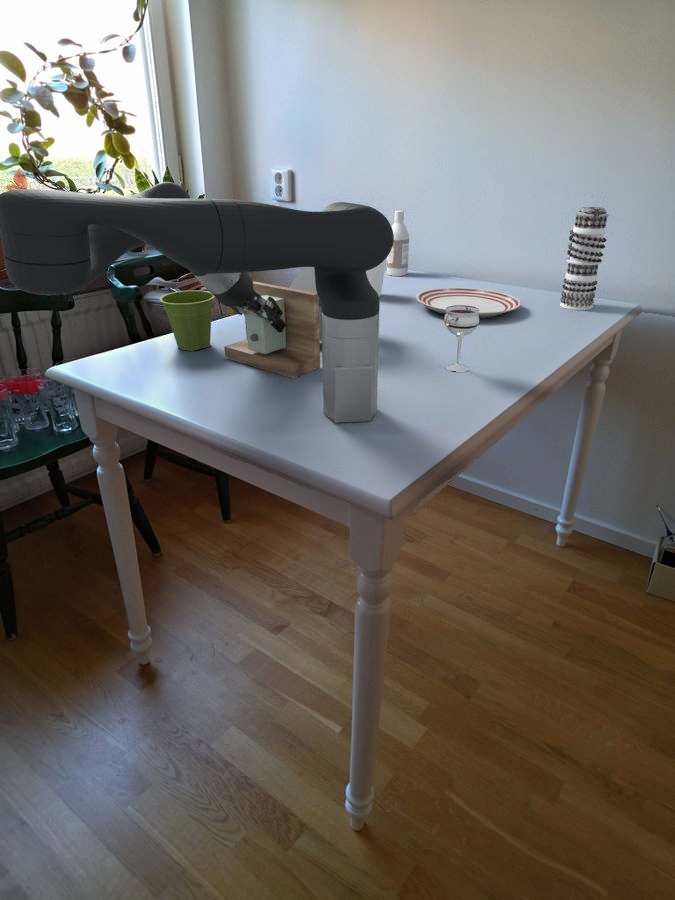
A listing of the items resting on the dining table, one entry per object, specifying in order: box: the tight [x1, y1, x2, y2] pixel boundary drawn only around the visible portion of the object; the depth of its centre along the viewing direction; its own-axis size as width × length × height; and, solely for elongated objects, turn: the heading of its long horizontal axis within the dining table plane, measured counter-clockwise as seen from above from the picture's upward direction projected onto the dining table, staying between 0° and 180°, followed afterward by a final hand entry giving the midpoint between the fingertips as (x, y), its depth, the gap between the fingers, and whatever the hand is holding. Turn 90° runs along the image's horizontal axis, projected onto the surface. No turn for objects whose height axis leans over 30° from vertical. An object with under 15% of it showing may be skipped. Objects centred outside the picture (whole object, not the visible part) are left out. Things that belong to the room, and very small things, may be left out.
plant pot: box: [159, 289, 216, 352], centre depth 135 cm, size 12×12×11 cm
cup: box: [366, 259, 387, 298], centre depth 175 cm, size 9×9×12 cm
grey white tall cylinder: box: [559, 206, 610, 311], centre depth 160 cm, size 9×9×25 cm
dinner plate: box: [415, 286, 522, 319], centre depth 163 cm, size 28×27×3 cm
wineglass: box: [443, 305, 480, 373], centre depth 120 cm, size 7×7×12 cm
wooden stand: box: [223, 280, 321, 379], centre depth 124 cm, size 8×20×15 cm, turn 50°
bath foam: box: [386, 210, 410, 277], centre depth 200 cm, size 7×7×20 cm
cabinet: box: [245, 295, 286, 354], centre depth 122 cm, size 7×5×10 cm
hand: (272, 326), depth 124 cm, fingers closed on cabinet, 5 cm apart
